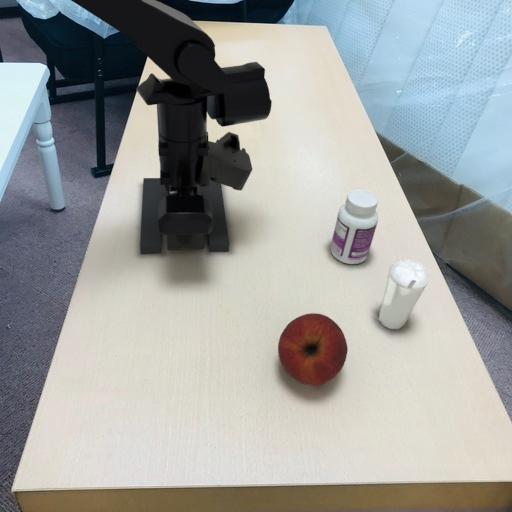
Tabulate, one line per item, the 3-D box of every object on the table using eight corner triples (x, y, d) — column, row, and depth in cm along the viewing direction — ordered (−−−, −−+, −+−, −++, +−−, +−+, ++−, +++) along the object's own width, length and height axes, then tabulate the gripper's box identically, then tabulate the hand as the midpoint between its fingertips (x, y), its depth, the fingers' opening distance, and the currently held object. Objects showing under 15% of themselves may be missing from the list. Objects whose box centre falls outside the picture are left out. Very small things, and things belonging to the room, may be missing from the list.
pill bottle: (369, 245, 74) (386, 191, 68) (364, 269, 70) (381, 214, 64) (333, 236, 75) (346, 182, 68) (326, 259, 71) (339, 204, 65)
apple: (260, 375, 56) (267, 328, 51) (296, 331, 61) (306, 285, 56) (319, 411, 53) (332, 366, 48) (351, 362, 58) (367, 317, 53)
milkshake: (371, 334, 62) (392, 275, 55) (374, 302, 66) (394, 244, 59) (409, 343, 61) (435, 285, 54) (409, 310, 65) (434, 253, 58)
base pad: (140, 254, 69) (139, 245, 68) (144, 185, 80) (143, 177, 79) (228, 251, 71) (229, 243, 70) (219, 185, 82) (220, 177, 81)
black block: (167, 249, 69) (166, 232, 67) (167, 226, 73) (166, 209, 71) (204, 248, 70) (204, 231, 68) (202, 225, 74) (202, 208, 72)
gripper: (260, 174, 55) (250, 276, 65) (241, 96, 68) (235, 191, 79) (155, 175, 53) (161, 280, 64) (156, 94, 66) (162, 192, 77)
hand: (184, 231), depth 71 cm, fingers closed on black block, 5 cm apart
